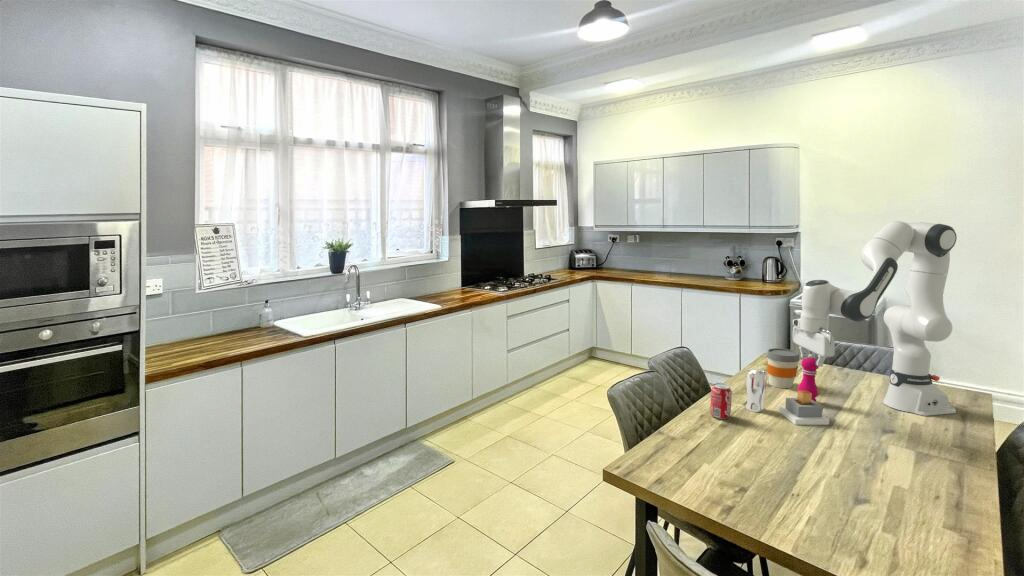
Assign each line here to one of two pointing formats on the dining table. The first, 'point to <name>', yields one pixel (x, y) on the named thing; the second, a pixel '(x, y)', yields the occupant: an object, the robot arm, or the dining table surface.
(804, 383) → the pepper mill
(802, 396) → the pin
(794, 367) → the reusable coffee cup
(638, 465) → the dining table surface
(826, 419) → the socket
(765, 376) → the clear waisted cup
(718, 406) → the soda can
